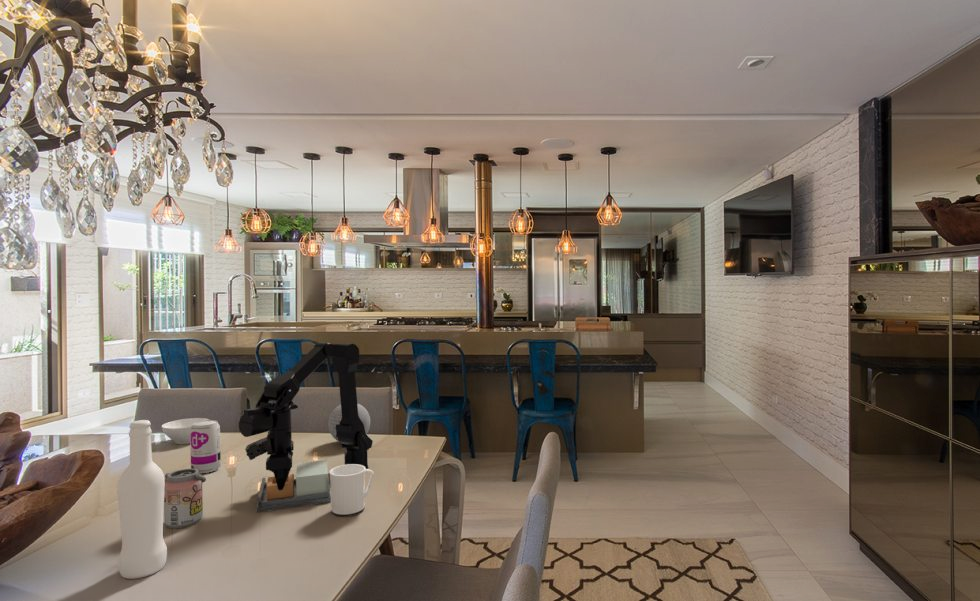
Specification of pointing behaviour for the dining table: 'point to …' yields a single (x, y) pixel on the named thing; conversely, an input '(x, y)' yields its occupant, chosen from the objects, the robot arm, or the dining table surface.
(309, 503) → the housing base
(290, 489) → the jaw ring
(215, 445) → the supplement can
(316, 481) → the housing cover
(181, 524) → the pink grey lidded container
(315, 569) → the dining table surface
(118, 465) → the dining table surface
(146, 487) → the bottle
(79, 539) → the dining table surface
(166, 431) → the bowl
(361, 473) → the mug
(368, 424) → the decorative ball
